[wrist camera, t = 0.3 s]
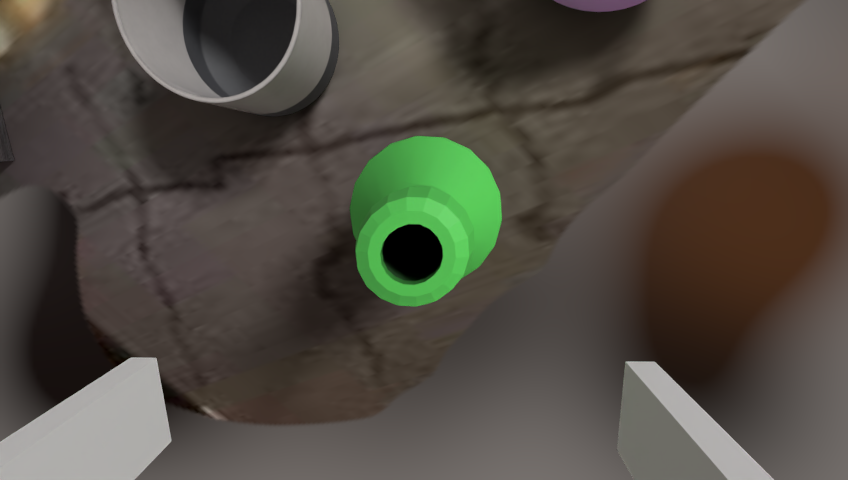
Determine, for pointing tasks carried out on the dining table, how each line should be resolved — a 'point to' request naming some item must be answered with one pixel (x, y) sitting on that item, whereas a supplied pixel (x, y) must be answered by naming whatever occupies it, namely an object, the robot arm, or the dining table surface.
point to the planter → (234, 49)
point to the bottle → (423, 219)
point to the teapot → (599, 4)
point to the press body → (4, 142)
